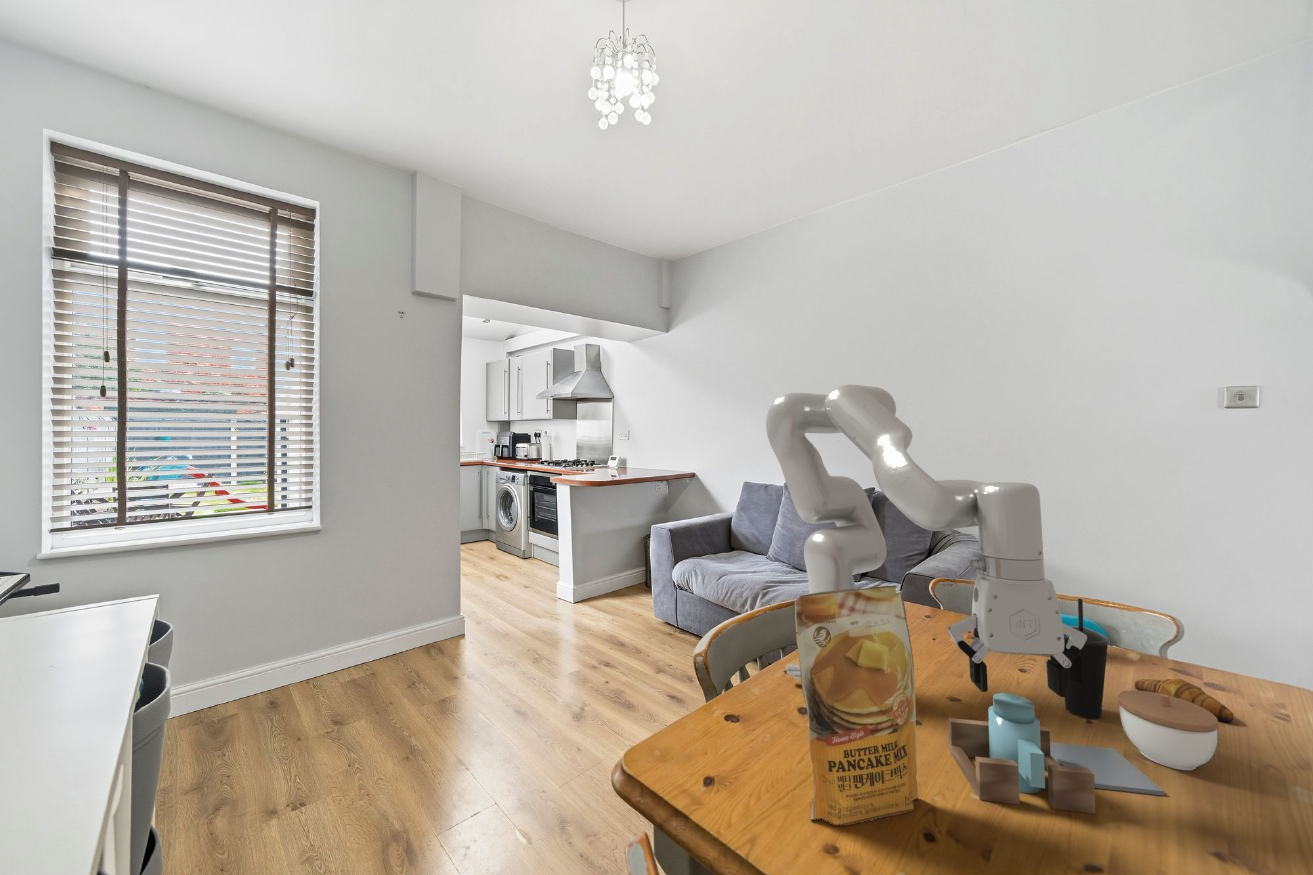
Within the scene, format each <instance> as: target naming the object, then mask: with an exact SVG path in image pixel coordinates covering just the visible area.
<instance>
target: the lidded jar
mask: <svg viewBox="0 0 1313 875" xmlns="http://www.w3.org/2000/svg"><path fill="white" fill-rule="evenodd" d="M1117 702H1118V704H1119V706H1118V708H1119V717H1120V722H1121V724H1122V728H1123V730H1124V733H1125V734H1126V736H1127V738H1128V739H1129V741H1130V742H1131V743H1132V744H1133V745H1134V746H1135V748H1137V749H1138V750H1139V752H1140V753H1141V755H1142V756H1144V757H1145V758H1147V759H1148V760H1150V761H1151V762H1153V763H1156V764H1158V765H1161V766H1164V767H1166V768H1170V769H1173V770H1174V769H1175V770H1179V771H1187V772H1188V771H1195V770H1196V769H1197V768H1196V767H1200V766H1202V765H1204V764H1207V763H1208V762H1209V761H1211V759H1212V757H1213V756H1214V754H1215V752H1216V749H1217V744H1218V728H1219V720H1218V719H1217V718H1216V717H1215V716H1214V715H1213V714H1212V713H1211V712H1209V711H1208V710H1206V709H1204V708H1202V707H1200V706H1198V705H1195V704H1193V703H1190V702H1188V701H1185V700H1182V699H1179V698H1176V697H1172V696H1168V695H1165V694H1160V693H1154V692H1148V691H1138V690H1137V689H1134V690H1133V689H1132V690H1125V691H1121V692H1119V694H1118V696H1117ZM1194 769H1195V770H1194Z"/></svg>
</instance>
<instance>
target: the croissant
mask: <svg viewBox="0 0 1313 875" xmlns="http://www.w3.org/2000/svg"><path fill="white" fill-rule="evenodd" d="M1134 687H1135V688H1134V690H1137V691H1148V692H1154V693H1160V694H1165V695H1168V696H1172V697H1176V698H1179V699H1182V700H1185V701H1188V702H1190V703H1193V704H1195V705H1198V706H1200V707H1202V708H1204V709H1206V710H1208V711H1209V712H1211V713H1212V714H1213V715H1214V716H1215V717H1216V718H1217V719H1218V721H1223V722H1226V723H1227V722H1228V723H1232V722H1233V721H1234V718H1235V717H1234V716H1235V715H1234V713H1233V712H1232V711H1231V710H1230V709H1229V708H1228V707H1226V706H1225V705H1224V704H1223V703H1221V702H1220V701H1218V700H1217V699H1215V698H1214V697H1213V696H1211V695H1209V694H1208V693H1206V692H1205V691H1204V690H1203V689H1202V688H1200V687H1199V686H1198V685H1197V686H1196V685H1195V684H1193V683H1191V682H1189V681H1186V680H1184V679H1182V678H1166V679H1154V678H1152V679H1150V678H1149V679H1147V678H1144V679H1138V680H1135V681H1134Z"/></svg>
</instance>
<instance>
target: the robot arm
mask: <svg viewBox="0 0 1313 875" xmlns="http://www.w3.org/2000/svg"><path fill="white" fill-rule="evenodd" d="M896 413H897V405H896V400H894V398H893V396H892V395H891V394H890V393H889V392H888V391H887V390H885V389H884V388H882V387H877V386H872V385H862V384H861V385H859V384H844V385H840V386H838V387H836V388H834V389H833V390H831V391H830V392H829V394H822V393H821V394H820V393H810V392H789V393H786V394H785V393H784V394H782V395H780V396H778V397H777V398H775V400H774V401H772V404H770V406H769V408H768V412H767V414H766V421H765V428H766V435H767V439H768V442H769V444H770V447H771V449H772V451H773V453H774V455H775V456H776V459H777V461H778V463H779V465H780V468H781V471H782V474H783V478H784V481H785V484H786V486H787V488H788V492H789V494H790V497H791V500H792V502H793V503H792V504H793V505H794V508H795V510H796V513H797V515H798V517H799V518H800V519H801V520H802V521H803V522H806V523H809V524H826V523H827V524H828V523H834V524H835V526H833V527H831V526H830V527H826V528H822V529H819V530H816V531H814V532H813V533H812V534H810V535H809V536H808V538H807V539H806V541H805V543H804V546H803V558H804V563H805V564H804V565H805V569H806V573H807V580H808V591H809V594H813V593H819V592H828V591H835V590H843V589H858V588H857V585H856V583H855V581H854V577H853V575H854V576H855V575H858V574H862V573H866V572H871V571H875V570H877V569H879V568H880V567H881V566H883V564H884V563H885V561H886V559H887V554H888V553H887V552H888V551H887V543H886V539H885V537H884V534H883V531H882V528H881V526H880V524H879V522H878V519H877V516H876V514H875V512H874V509H873V507H872V505H871V502H870V499H869V498H868V495H867V493H866V491H865V490H864V488H863V487H862V486H861V484H859V483H858V482H857V481H856V480H854V479H852V478H850V477H849V476H848V477H847V476H843V475H842V476H841V475H840V476H839V475H838V476H837V475H835V476H833V475H830V473H828V470H827V468H826V466H825V464H824V461H823V458H822V456H821V454H820V452H819V451H818V449H817V448H816V446H815V445H814V444H813V443H812V442H811V441H810V440H809V439H808V438H807V437H806V434H831V435H832V434H842V433H843V435H844V436H845V437H847V439H849V441H850V442H851V443H852V444H853V445H854V446H856V447H857V448H858V449H859V451H860V452H862V454H864V456H866V457H867V458H868V459H869V461H871V463H872V471H873V474H874V476H875V477H874V478H875V479H876V482H877V484H878V486H879V487H878V488H879V489H880V490H881V491H882V493H883V495H885V497H886V498H887V499H888V500H889V501H890V502H891V503H892V504H893V506H895V507H896V508H897V509H898V510H899V512H901V513H902V514H903V515H904V516H905V517H906V518H907V519H908V520H909V521H911V522H912V523H914V524H915V525H917V526H918V527H920V528H921V529H925V530H927V531H932V532H933V531H934V532H939V531H947V530H953V529H954V530H955V529H963V528H970V527H978V542H979V544H978V545H979V554H978V558H975V559H970V560H969V567H970V569H971V570H977V571H979V573H980V574H977V575H976V576H975V581H974V588H973V594H972V605H971V616H968V617H966V618H964V619H962V620H959V621H957V622H955V623H953V624H950V625H949V626H947V628H946V629H947V632H948V634H949V635H950V637H951V638H952V640H953V642H954V644H955V645H956V646H957V647H958V649H960V650H961V651H962V652H963V653H964V654H965V655H966V656H967V657H968V662H969V664H968V665H969V678H970V681H971V682H972V683H973V684H974V685H975V687H977V689H978V690H979V691H980V692H981V693H987V692H988V691H989V686H988V685H989V684H988V668H987V664H986V662H984V660H985V658H986V657H987V656H988V655H989V654H990V653H991V652H992V653H997V654H1004V655H1005V654H1008V655H1009V654H1010V655H1025V656H1026V655H1027V656H1049V658H1048V659H1047V660H1046V676H1047V678H1046V679H1047V687H1048V689H1049V690H1051V692H1053V693H1055V694H1056V695H1057V696H1058V697H1061V698H1064V697H1066V689H1067V688H1068V677H1067V668H1069V667H1070V666H1071V662H1072V661H1073V660H1074V659H1075V658H1077V657H1078V656H1079V655H1080V653H1081V651H1080V650H1081V648H1083V646H1084V644H1085V642H1086V640H1087V636H1086V635H1085V634H1084V633H1082V632H1080V631H1078V630H1076V629H1074V628H1072V627H1070V626H1071V625H1070V626H1069V625H1068V624H1065V623H1063V621H1062V620H1063V619H1062V615H1061V610H1060V605H1059V601H1058V597H1057V592H1056V589H1055V587H1054V584H1053V581H1052V580H1050V579H1047V578H1045V577H1046V575H1045V562H1044V546H1043V544H1044V542H1043V529H1042V528H1043V527H1042V511H1041V509H1042V508H1041V496H1040V491H1039V490H1038V488H1037V486H1035V485H1034V484H1031V483H1027V482H1017V481H1015V482H1014V481H1013V482H1011V481H1010V482H1008V481H1006V482H1005V481H1004V482H1003V481H1002V482H997V481H996V482H994V481H993V482H984V481H977V480H970V479H969V480H968V479H947V480H946V479H944V480H943V479H942V480H935V479H934V478H933V477H932V476H930V475H929V474H928V473H927V472H926V471H925V470H923V468H921V467H920V466H919V465H918V464H917V463H916V462H915V461H914V460H913V459H912V457H911V456H910V454H909V453H908V452H907V450H908V448H909V446H910V445H911V443H912V440H913V431H912V430H911V428H910V427H909V426H908V425H907V424H905V423H904V422H903V421H902V420H901V419H899V418H898V416H896ZM969 631H972V633H971V634H972V636H973V638H974V640H973V641H972V642H971V643H970V644H968V643H967V642H966V640H965V638H964V634H965V633H967V632H969ZM1064 634H1066V635H1068V636H1069V640H1068V643H1066V644H1065V645H1064ZM786 675H791V676H792V675H793V679H794V680H801V673H800V664H799V665H798V664H797V665H796V664H794V663H786Z"/></svg>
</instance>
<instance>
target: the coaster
mask: <svg viewBox="0 0 1313 875" xmlns="http://www.w3.org/2000/svg"><path fill="white" fill-rule="evenodd" d="M1050 755H1051V756H1052V757H1053V758H1054V759H1055V760H1056V761H1057V763H1058V764H1059V765H1060V766H1070V767H1080V768H1088V769H1089V770H1090V771H1092V772H1093V773H1094V783H1095V789H1103V790H1110V791H1119V792H1120V791H1121V792H1129V793H1137V794H1145V795H1146V794H1147V795H1156V796H1163V797H1165V790H1163V789H1162V788H1161V786H1159V785H1158V784H1156V783H1155V782H1154V781H1153V780H1151V779H1150V778H1149V777H1148V776H1147V775H1146V774H1145V773H1143V772H1142V771H1141V770H1140V769H1138V767H1136V766H1135V765H1134V764H1133V763H1131V762H1130V761H1129V760H1128V759H1127V758H1125V757H1124V756H1123V755H1122V754H1121V753H1120V752H1118V751H1117V750H1116V749H1115V748H1111V747H1103V746H1093V745H1092V746H1089V745H1081V744H1070V743H1069V744H1068V743H1061V742H1051V741H1050Z"/></svg>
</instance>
